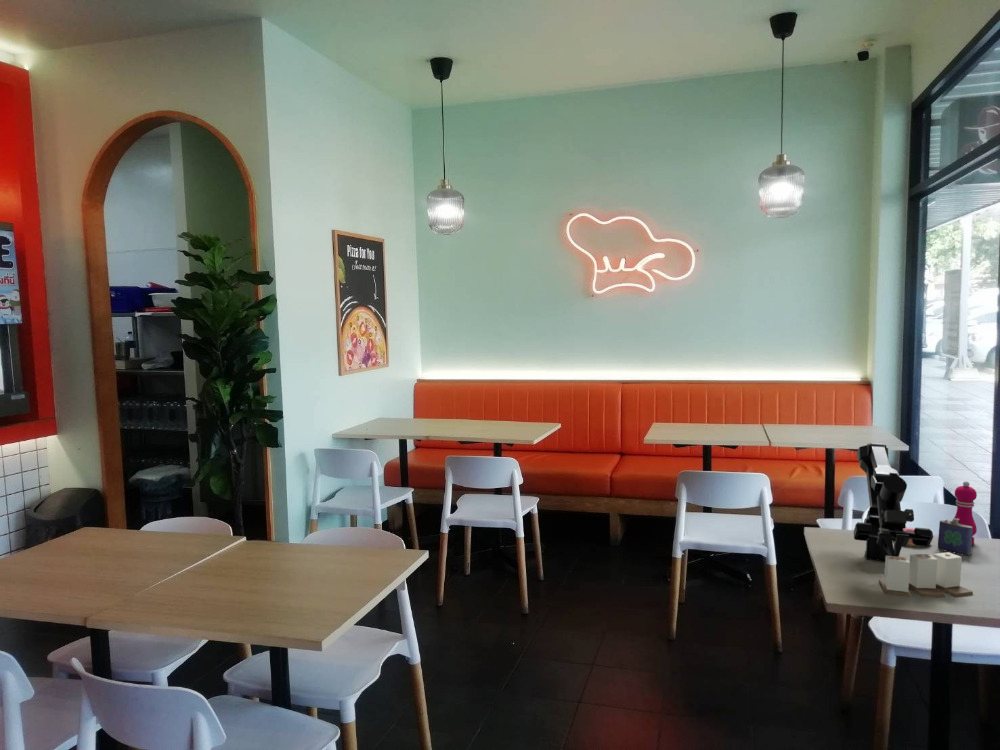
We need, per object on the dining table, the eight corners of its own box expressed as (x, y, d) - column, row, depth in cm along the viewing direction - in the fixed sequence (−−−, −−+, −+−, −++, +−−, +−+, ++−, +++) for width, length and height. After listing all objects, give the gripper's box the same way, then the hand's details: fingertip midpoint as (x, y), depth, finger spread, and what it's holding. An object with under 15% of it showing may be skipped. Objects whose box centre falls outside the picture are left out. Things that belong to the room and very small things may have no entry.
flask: (972, 554, 219) (974, 520, 218) (968, 556, 217) (970, 522, 216) (939, 546, 226) (941, 513, 225) (935, 548, 224) (937, 515, 223)
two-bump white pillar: (908, 582, 194) (910, 553, 193) (927, 582, 194) (928, 553, 193) (916, 588, 190) (918, 558, 189) (935, 588, 190) (937, 558, 189)
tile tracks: (881, 592, 190) (881, 589, 189) (877, 572, 204) (877, 570, 203) (979, 607, 180) (979, 604, 180) (968, 585, 194) (968, 582, 194)
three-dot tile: (884, 584, 193) (885, 554, 192) (904, 586, 191) (906, 556, 191) (886, 589, 189) (888, 559, 188) (908, 592, 188) (910, 561, 187)
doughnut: (892, 535, 238) (893, 522, 238) (931, 540, 232) (931, 528, 232) (891, 544, 229) (892, 531, 228) (931, 550, 223) (932, 537, 223)
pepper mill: (944, 539, 232) (947, 479, 230) (958, 537, 235) (962, 477, 233) (966, 546, 226) (970, 485, 224) (980, 543, 229) (985, 482, 227)
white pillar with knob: (932, 582, 194) (934, 553, 193) (946, 580, 195) (948, 551, 195) (945, 587, 190) (946, 558, 190) (959, 585, 192) (961, 556, 191)
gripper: (857, 494, 198) (861, 545, 189) (933, 500, 192) (941, 552, 183) (851, 514, 206) (855, 563, 197) (924, 520, 200) (932, 571, 191)
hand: (895, 562), depth 192 cm, fingers closed, pressing on three-dot tile
